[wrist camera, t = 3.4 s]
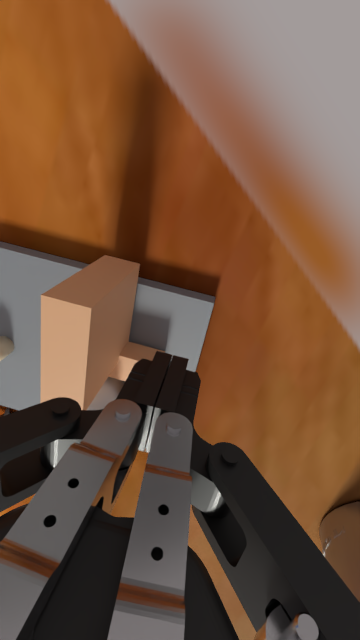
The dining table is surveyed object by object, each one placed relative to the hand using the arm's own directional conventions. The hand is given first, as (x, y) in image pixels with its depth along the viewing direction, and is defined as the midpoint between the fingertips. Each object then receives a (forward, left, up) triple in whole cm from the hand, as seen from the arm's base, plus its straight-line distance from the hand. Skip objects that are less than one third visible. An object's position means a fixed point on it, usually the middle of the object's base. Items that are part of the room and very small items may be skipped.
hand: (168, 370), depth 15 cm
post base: (+7, +7, -9) cm, 14 cm away
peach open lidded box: (+5, +5, -8) cm, 11 cm away
